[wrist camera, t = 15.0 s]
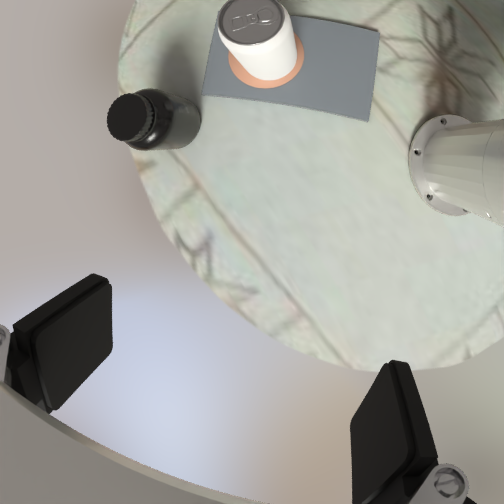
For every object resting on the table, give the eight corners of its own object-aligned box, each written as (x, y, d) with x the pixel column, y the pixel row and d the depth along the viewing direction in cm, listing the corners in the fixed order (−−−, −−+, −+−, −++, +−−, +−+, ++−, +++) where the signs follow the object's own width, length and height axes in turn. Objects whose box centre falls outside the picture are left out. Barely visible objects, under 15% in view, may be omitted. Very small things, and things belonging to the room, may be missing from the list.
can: (304, 74, 32) (299, 38, 20) (250, 87, 33) (221, 59, 22) (288, 28, 30) (277, -20, 19) (236, 42, 32) (205, 1, 20)
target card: (378, 34, 29) (380, 32, 28) (367, 122, 33) (368, 121, 32) (220, 13, 31) (218, 10, 30) (203, 95, 35) (200, 94, 34)
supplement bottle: (153, 102, 37) (98, 89, 25) (201, 95, 35) (157, 75, 24) (154, 152, 39) (99, 155, 27) (202, 148, 37) (158, 147, 26)
